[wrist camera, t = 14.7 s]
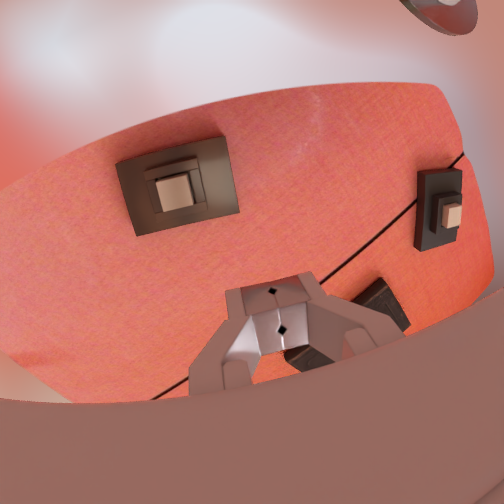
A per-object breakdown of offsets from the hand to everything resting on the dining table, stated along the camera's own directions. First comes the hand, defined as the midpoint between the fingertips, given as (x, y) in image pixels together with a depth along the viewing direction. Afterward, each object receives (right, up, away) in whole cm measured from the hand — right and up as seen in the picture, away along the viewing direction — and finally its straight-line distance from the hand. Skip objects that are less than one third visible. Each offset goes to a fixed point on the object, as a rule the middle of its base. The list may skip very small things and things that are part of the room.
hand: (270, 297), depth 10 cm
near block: (-10, +10, +26) cm, 30 cm away
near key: (-10, +9, +23) cm, 26 cm away
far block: (+33, +10, +34) cm, 48 cm away
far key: (+33, +8, +30) cm, 46 cm away
